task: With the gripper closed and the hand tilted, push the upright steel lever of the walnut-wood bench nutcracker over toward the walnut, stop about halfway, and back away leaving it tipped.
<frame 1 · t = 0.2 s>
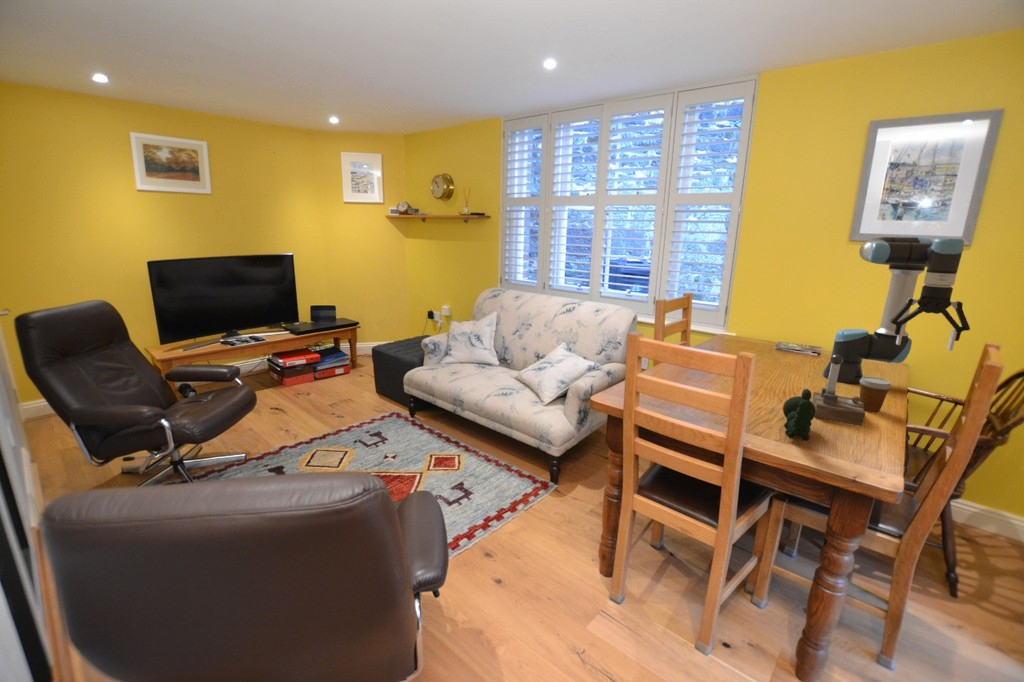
hand: (923, 347, 155), 28 cm above the table, tool pointing down, fingers open, 13 cm apart
toy figurine: (796, 433, 151), on the table
lever: (833, 376, 165), point 14 cm above the table, hinge at 0.0°
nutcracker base: (835, 414, 167), on the table
disposable coffee cup: (868, 410, 173), on the table
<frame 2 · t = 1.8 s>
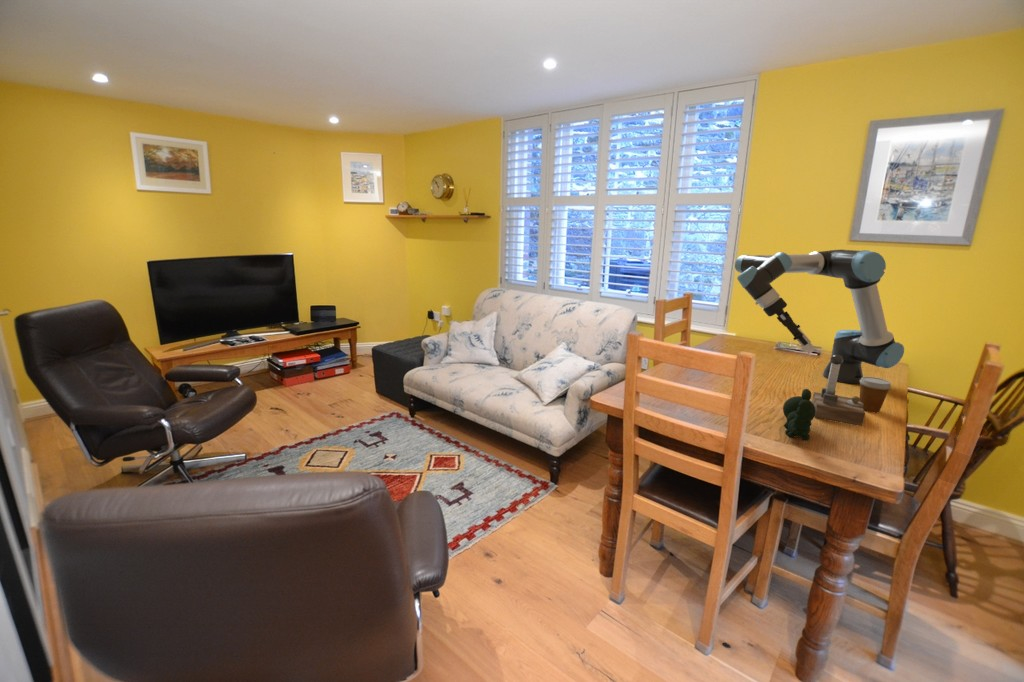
hand: (809, 347, 167), 24 cm above the table, tool tilted 45°, fingers open, 13 cm apart
nothing on the table moved.
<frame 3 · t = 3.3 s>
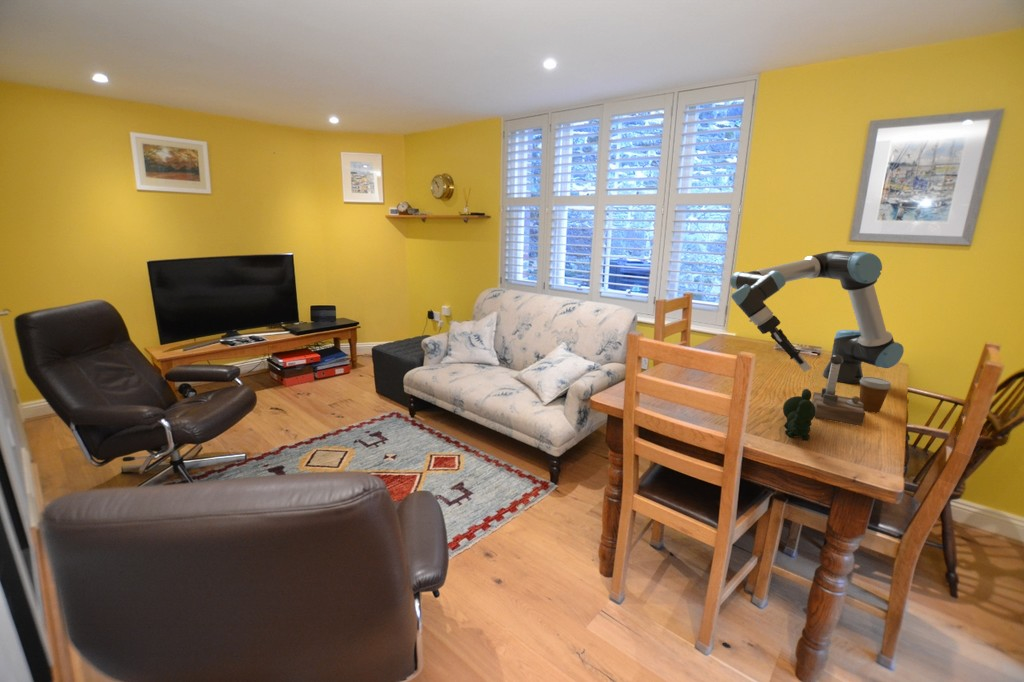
hand: (807, 369, 168), 16 cm above the table, tool tilted 45°, fingers closed
nothing on the table moved.
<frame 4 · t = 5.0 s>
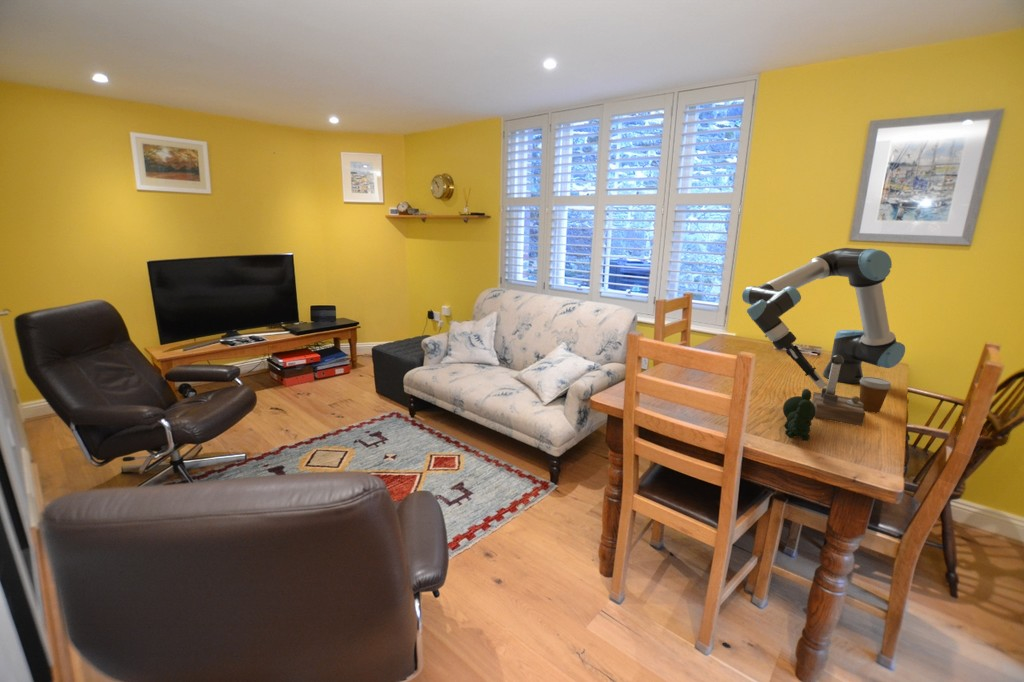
hand: (823, 386, 167), 10 cm above the table, tool tilted 45°, fingers closed
lever: (833, 377, 165), point 14 cm above the table, hinge at 1.0°, touching gripper
everything else where it was.
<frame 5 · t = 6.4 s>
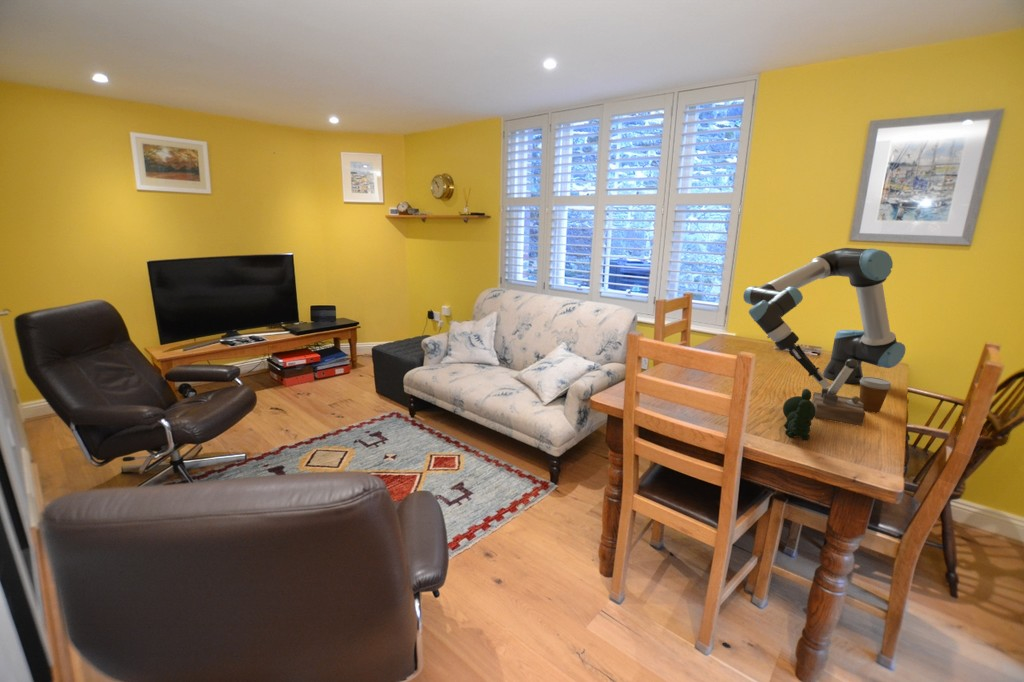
hand: (827, 386, 167), 10 cm above the table, tool tilted 45°, fingers closed
lever: (841, 379, 164), point 14 cm above the table, hinge at 18.9°
everything else where it was.
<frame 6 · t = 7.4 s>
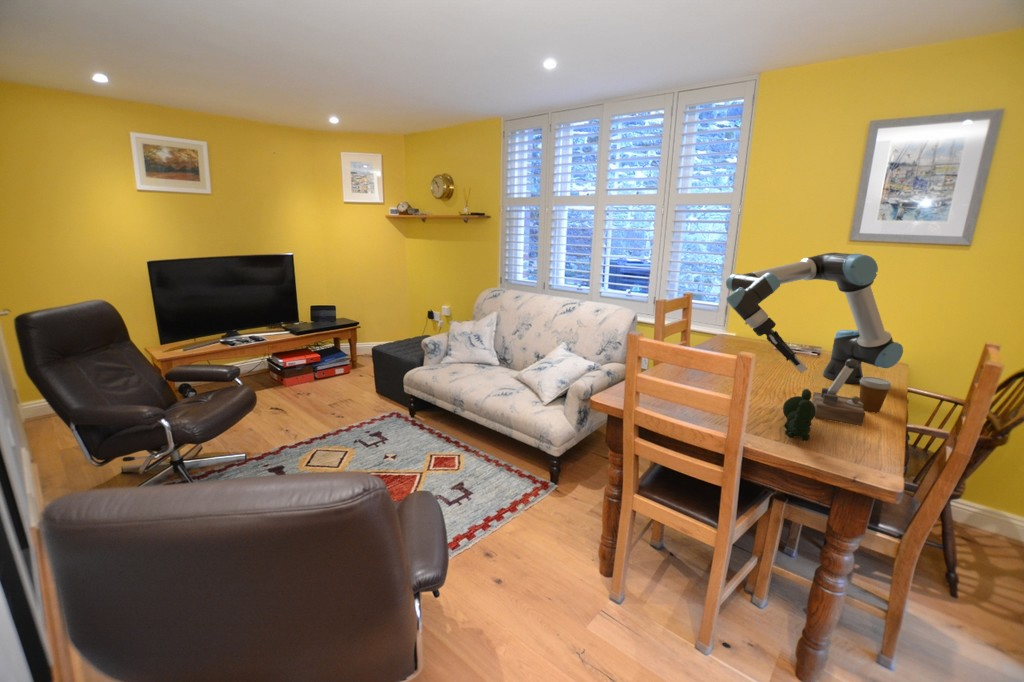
hand: (804, 370, 169), 15 cm above the table, tool tilted 45°, fingers closed
nothing on the table moved.
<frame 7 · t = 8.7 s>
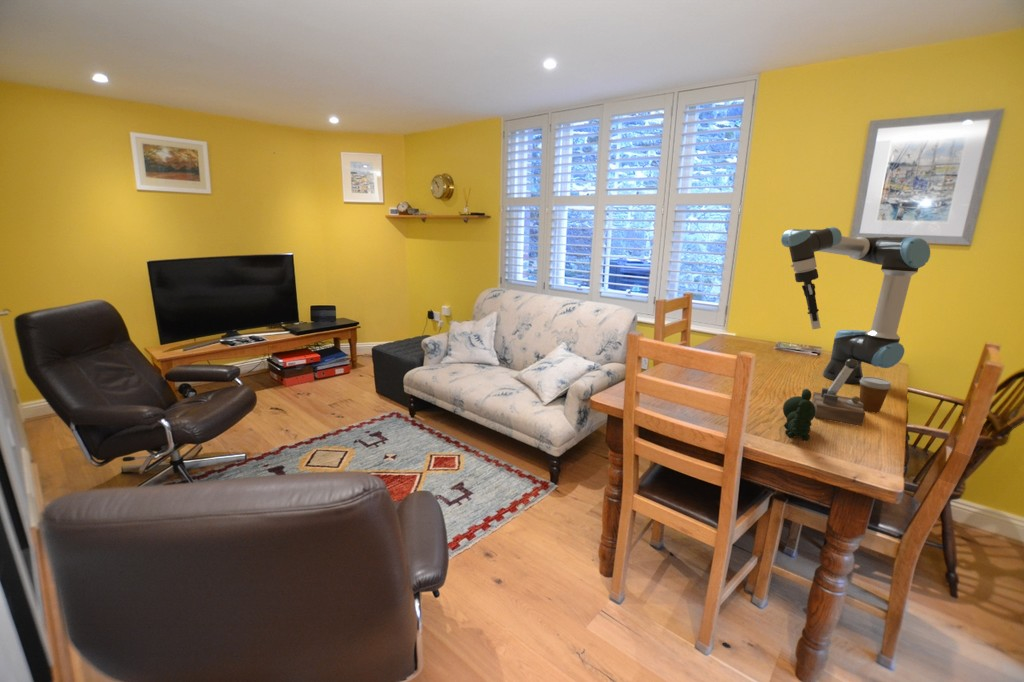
hand: (816, 328, 178), 29 cm above the table, tool tilted 20°, fingers closed
nothing on the table moved.
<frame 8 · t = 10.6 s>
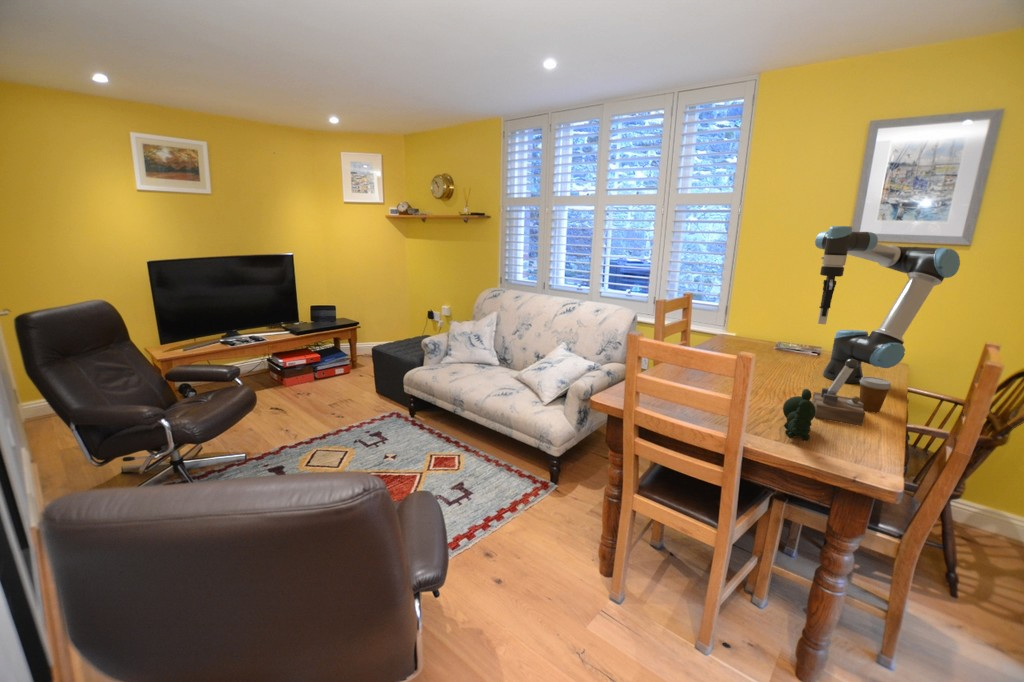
hand: (821, 323, 185), 29 cm above the table, tool pointing down, fingers closed
nothing on the table moved.
at the end: lever at +19° (first picture: +0°) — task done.
